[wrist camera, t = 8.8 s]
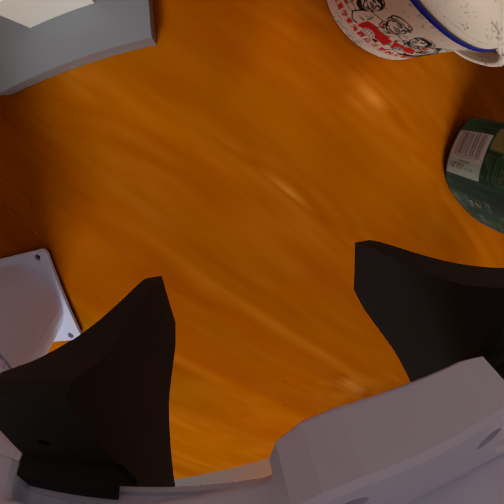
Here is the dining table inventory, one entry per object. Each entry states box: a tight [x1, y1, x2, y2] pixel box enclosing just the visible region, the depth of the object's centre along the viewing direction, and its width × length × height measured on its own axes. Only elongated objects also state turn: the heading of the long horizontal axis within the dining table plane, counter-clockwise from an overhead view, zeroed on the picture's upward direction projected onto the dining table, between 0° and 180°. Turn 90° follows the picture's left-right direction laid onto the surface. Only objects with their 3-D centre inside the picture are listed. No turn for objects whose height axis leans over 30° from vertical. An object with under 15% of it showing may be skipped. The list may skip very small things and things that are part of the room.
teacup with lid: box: [327, 0, 504, 67], centre depth 11 cm, size 12×9×12 cm
